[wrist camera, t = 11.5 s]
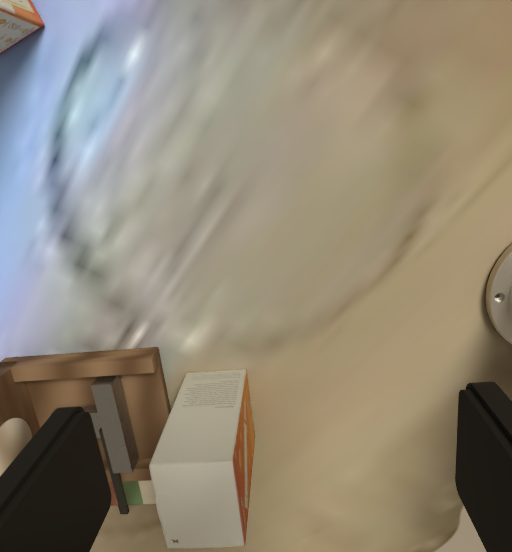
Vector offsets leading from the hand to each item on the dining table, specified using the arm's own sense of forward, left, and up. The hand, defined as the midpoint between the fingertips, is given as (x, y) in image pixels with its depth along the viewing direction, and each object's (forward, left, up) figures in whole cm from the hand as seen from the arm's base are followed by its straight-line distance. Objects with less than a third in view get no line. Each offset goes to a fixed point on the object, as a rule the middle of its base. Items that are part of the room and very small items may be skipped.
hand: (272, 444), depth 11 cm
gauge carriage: (+21, +21, -27) cm, 40 cm away
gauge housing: (+21, +20, -28) cm, 41 cm away
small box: (+8, +18, -28) cm, 35 cm away
